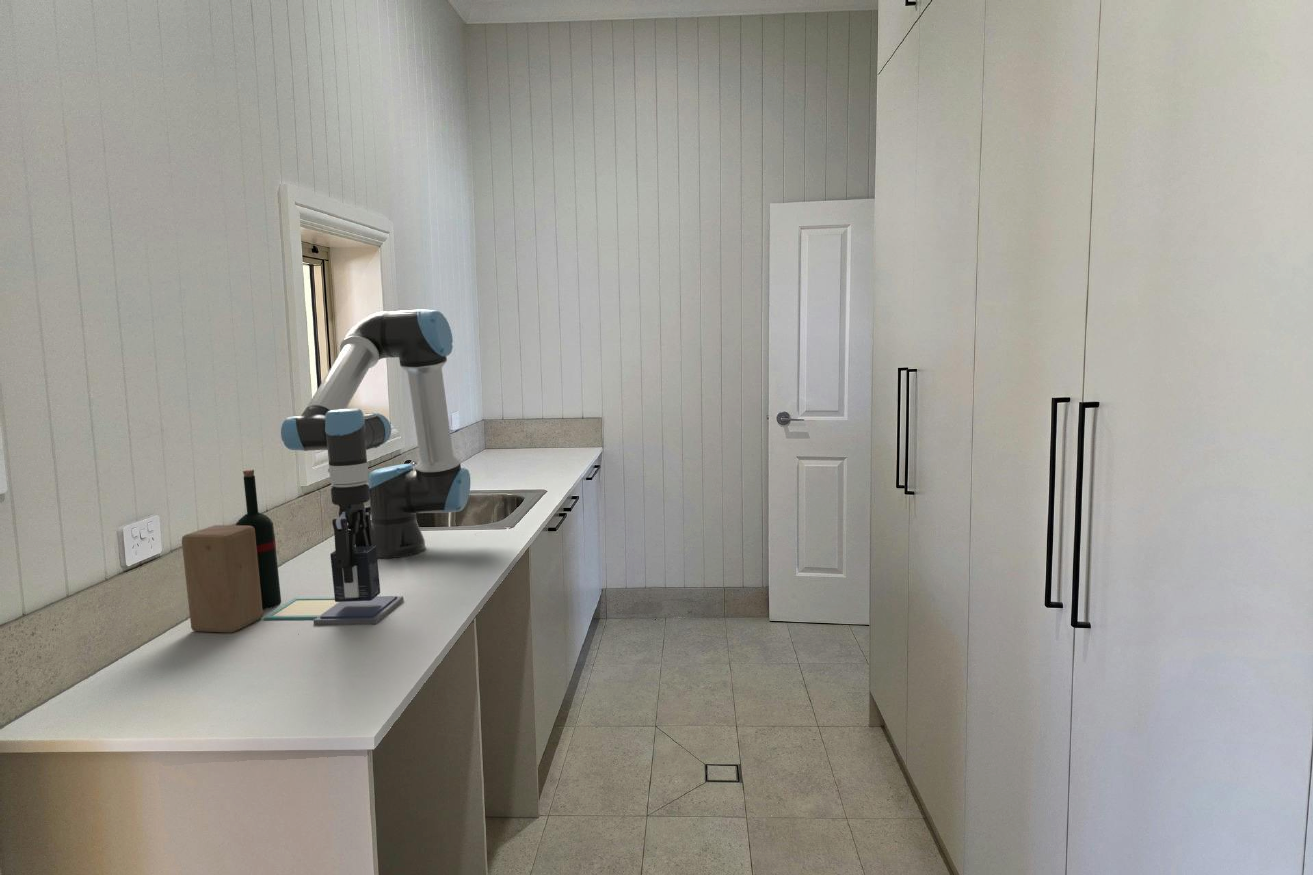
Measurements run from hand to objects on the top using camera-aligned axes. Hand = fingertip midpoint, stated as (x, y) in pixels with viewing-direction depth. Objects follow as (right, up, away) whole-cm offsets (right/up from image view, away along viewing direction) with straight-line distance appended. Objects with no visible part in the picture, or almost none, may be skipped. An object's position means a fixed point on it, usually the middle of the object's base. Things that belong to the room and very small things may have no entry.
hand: (358, 591), depth 179 cm
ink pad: (0, -4, +1) cm, 4 cm away
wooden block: (-25, -6, -4) cm, 26 cm away
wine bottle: (-24, -4, +10) cm, 26 cm away
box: (0, -1, 0) cm, 1 cm away
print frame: (-12, -4, +4) cm, 13 cm away
